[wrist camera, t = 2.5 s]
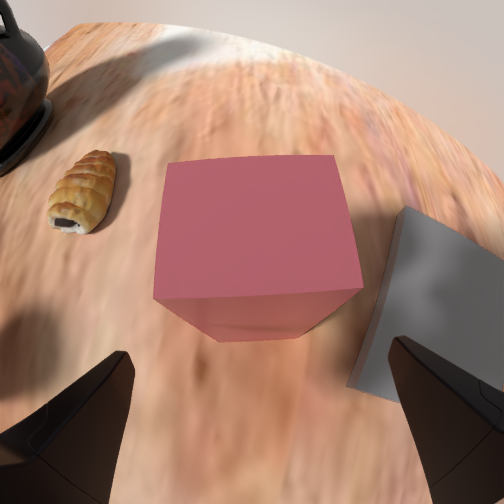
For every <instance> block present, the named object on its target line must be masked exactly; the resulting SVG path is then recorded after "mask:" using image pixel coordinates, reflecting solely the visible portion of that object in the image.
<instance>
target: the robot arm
mask: <svg viewBox="0 0 504 504" xmlns="http://www.w3.org/2000/svg"><path fill="white" fill-rule="evenodd" d="M388 362H389V365H390V369H391V372H392V376H393V380H394V383H395V387H396V391H397V394H398V397H399V400H400V403H401V405H402V408H403V411H404V413H405V416H406V419H407V421H408V424H409V427H410V430H411V433H412V436H413V438H414V441H415V444H416V447H417V450H418V453H419V457H420V460H421V463H422V466H423V469H424V473H425V476H426V480H427V483H428V487H429V491H430V494H431V498H432V502H433V504H504V392H502V391H500V390H498V389H496V388H495V387H493V386H491V385H489V384H487V383H486V382H484V381H482V380H481V379H478V378H477V377H475V376H474V375H472V374H470V373H469V372H467V371H465V370H464V369H462V368H460V367H458V366H457V365H455V364H453V363H452V362H450V361H448V360H447V359H445V358H443V357H441V356H440V355H438V354H436V353H435V352H433V351H431V350H430V349H428V348H426V347H424V346H423V345H421V344H419V343H418V342H416V341H414V340H412V339H411V338H409V337H407V336H405V335H401V336H396V337H394V338H393V340H392V343H391V346H390V349H389V352H388ZM134 378H135V368H134V365H133V363H132V361H131V358H130V356H129V354H128V352H126V351H115V352H113V353H112V354H111V355H109V356H108V357H107V358H105V359H104V360H103V361H102V362H100V363H99V364H98V365H96V366H95V367H94V368H92V369H91V370H90V371H88V372H87V373H86V374H84V375H83V376H82V377H80V378H79V379H78V380H76V381H75V382H74V383H72V384H71V385H70V386H68V387H67V388H66V389H64V390H63V391H62V392H61V393H59V394H58V395H57V396H55V397H54V398H53V399H51V400H50V401H49V402H48V404H47V403H46V404H45V405H43V406H42V407H41V408H39V409H38V410H37V411H35V412H34V413H32V414H31V415H30V416H28V417H26V418H25V419H23V420H22V421H20V422H19V423H17V424H15V425H14V426H12V427H10V428H9V429H7V430H5V431H4V432H2V433H0V504H109V499H110V493H111V488H112V483H113V478H114V473H115V468H116V463H117V459H118V455H119V450H120V446H121V442H122V438H123V434H124V430H125V426H126V422H127V418H128V414H129V409H130V403H131V397H132V390H133V384H134Z"/></svg>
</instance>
